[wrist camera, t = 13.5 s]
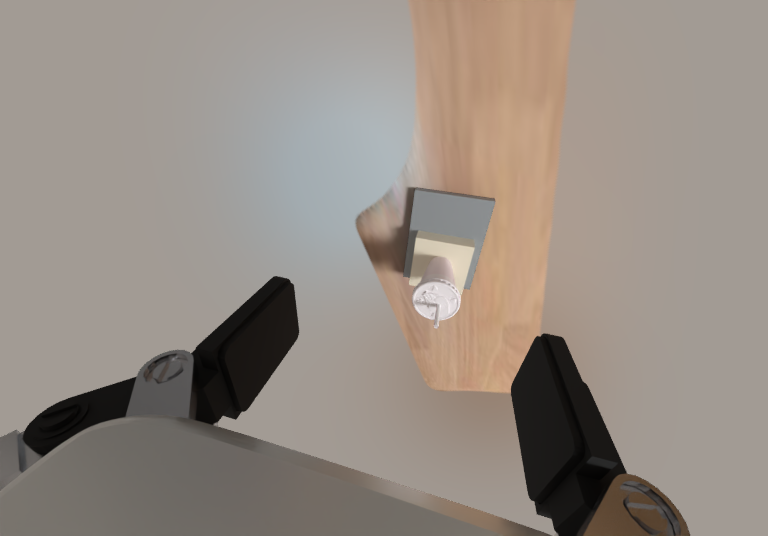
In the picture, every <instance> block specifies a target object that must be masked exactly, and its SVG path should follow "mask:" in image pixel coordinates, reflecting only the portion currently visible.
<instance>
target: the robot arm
mask: <svg viewBox="0 0 768 536" xmlns="http://www.w3.org/2000/svg"><path fill="white" fill-rule="evenodd" d="M298 335H299V326H298V317H297V309H296V300H295V291H294V285H293V284H292V283H291V282H290V280H289V279H287V278H282V277H277V276H275V277H273V278H272V279H270V280H269V281H268V282H267V283H266V284H265V285H264V286H263V287H262V288H261V289H259V290H258V291H257V292H256V293H255V294H254V295H253V296H252V297H251V298H250V299H249V300H247V301H246V302H245V303H244V304H243V305H242V306H241V307H240V308H239V309H237V310H236V311H235V312H234V313H233V314H232V315H231V316H230V317H229V318H228V319H227V320H225V321H224V322H223V323H222V324H221V325H220V326H219V327H218V328H217V329H216V330H214V331H213V332H212V333H211V334H210V335H209V336H208V337H207V338H206V339H205V340H203V341H202V342H201V343H200V344H199V345H198V346H197V347H196V349H195V350H194V351H193V352H192V353H190V352H187V351H185V350H173V351H168V352H165V353H162V354H160V355H158V356H156V357H154V358H153V359H151V360H150V361H148V362H147V363H146V364H145V365H144V366H143V367H142V368H141V369H140V371H139V373H138V375H137V377H134V378H131V379H128V380H125V381H122V382H118V383H115V384H112V385H109V386H106V387H103V388H100V389H96V390H93V391H90V392H87V393H84V394H81V395H77V396H74V397H71V398H68V399H66V400H63V401H60V402H58V403H56V404H55V405H53V406H51V407H49V408H47V409H46V410H45V411H43V412H42V413H40V414H39V415H38V416H37V417H36V418H35V419H34V420H33V421H32V422H31V423H30V424H29V425H28V426H27V428H26V430H25V431H23V432H21V433H20V432H19V431H17V430H15V431H13V432H11V433H9V434H7V435H5V436H3V437H0V536H551V535H549V534H546V533H544V532H541V531H538V530H535V529H532V528H529V527H526V526H524V525H520V524H518V523H515V522H512V521H509V520H506V519H503V518H501V517H497V516H494V515H492V514H489V513H486V512H483V511H480V510H477V509H474V508H471V507H468V506H465V505H462V504H459V503H456V502H453V501H450V500H447V499H444V498H440V497H437V496H434V495H431V494H428V493H425V492H422V491H419V490H416V489H413V488H410V487H407V486H404V485H400V484H397V483H394V482H391V481H388V480H385V479H382V478H379V477H376V476H373V475H369V474H366V473H364V472H360V471H357V470H354V469H351V468H348V467H345V466H342V465H339V464H336V463H332V462H329V461H326V460H323V459H320V458H317V457H314V456H311V455H307V454H304V453H301V452H298V451H295V450H291V449H288V448H285V447H282V446H279V445H276V444H273V443H269V442H266V441H263V440H260V439H257V438H254V437H251V436H247V435H244V434H241V433H238V432H234V431H231V430H227V429H224V428H221V427H218V421H219V420H220V419H221V417H222V416H226V417H229V418H232V419H237V418H238V416H239V415H240V413H241V412H242V411H243V412H244V411H246V410H247V409H248V408H249V407H250V405H251V404H252V402H253V401H254V399H255V398H256V397H257V395H258V394H259V392H260V391H261V390H262V388H263V387H264V385H265V384H266V383H267V381H268V380H269V378H270V377H271V375H272V374H273V372H274V371H275V370H276V368H277V367H278V365H279V364H280V363H281V361H282V360H283V358H284V357H285V356H286V354H287V353H288V351H289V350H290V348H291V347H292V345H293V344H294V343H295V341H296V340H297V338H298ZM511 396H512V402H513V408H514V414H515V420H516V425H517V432H518V437H519V443H520V449H521V455H522V461H523V466H524V472H525V479H526V485H527V491H528V495H529V498H530V499H531V500H532V501H535V506H536V512H537V514H538V515H541V516H544V517H547V518H551V519H552V521H553V526H554V530H555V531H556V532H557V533H556V534H555V536H690V533H689V530H688V527H687V524H686V522H685V520H684V519H683V517H682V515H681V513H680V512H679V510H678V509H677V508H676V506H675V505H674V504H673V503H672V502H671V500H670V499H669V498H668V497H667V496H666V495H665V494H663V493H662V492H661V491H660V490H659V489H658V488H656V487H655V486H654V485H652V484H651V483H649V482H648V481H646V480H644V479H642V478H640V477H638V476H636V475H631V474H627V473H626V470H625V468H624V466H623V463H622V461H621V459H620V457H619V454H618V452H617V450H616V448H615V446H614V443H613V441H612V439H611V437H610V434H609V432H608V430H607V428H606V425H605V423H604V421H603V419H602V416H601V414H600V412H599V410H598V407H597V405H596V403H595V401H594V399H593V396H592V394H591V392H590V390H589V388H588V386H587V384H586V383H584V382H583V381H582V379H581V377H580V374H579V372H578V370H577V367H576V365H575V363H574V361H573V358H572V356H571V354H570V351H569V349H568V347H567V345H566V342H565V340H564V339H563V338H562V337H559V336H554V335H550V334H542V335H541V337H539V336H537V337H536V338H535V339H534V341H533V343H532V345H531V347H530V349H529V351H528V353H527V355H526V357H525V359H524V361H523V363H522V365H521V367H520V369H519V371H518V373H517V375H516V377H515V379H514V381H513V383H512V386H511Z"/></svg>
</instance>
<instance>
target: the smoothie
mask: <svg viewBox="0 0 768 536" xmlns="http://www.w3.org/2000/svg"><path fill="white" fill-rule="evenodd" d="M460 300H461V298H460V293H459V291H458V289H457V288H456V284H455V279H454V274H453V269H452V264H451V262H450V261H449V260H448V259H447V258H445V257H435V258H433V259H432V260H431V261H430V263H429V265H428V267H427V269H426V271H425V273H424V275H423V277H422V279H421V281H420V283H418V285H417V286H416V287H415V288H414V291H413V296H412V303H413V306H414V308H415V309H416V311H417V312H418V313H419V314H420V315H422V316H423V317H425V318H428V319H431V320H435V321H434V328H438V327H439V320H445V319H448V318H450V317H452V316H453V315H455V314H456V312H457V311H458V309H459V307H460Z"/></svg>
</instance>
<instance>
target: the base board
mask: <svg viewBox="0 0 768 536" xmlns="http://www.w3.org/2000/svg"><path fill="white" fill-rule="evenodd" d="M494 205H495V199H493V198H486V197H479V196H472V195H465V194H458V193H451V192H444V191H437V190H430V189H423V188H416V189H415V193H414V201H413V208H412V215H411V223H410V230H409V237H408V245H407V252H406V259H405V267H404V274H403V277H408V278H410V281H409V285H413V286H417V285H418V283H420V281H421V279H422V277H423V275H424V273H425V271H426V269H427V267H428V265H429V263H430V261H431V260H432V259H433V258H435V257H445V258H447V259H448V260H449V261H450V262H451V264H452V269H453V274H454V279H455V284H456V288H457V289H458V291H459V293H460V295H462V292H463V288H464V289H469V290H470V286H471V283H472V279H473V276H474V273H475V269H476V266H477V263H478V259H479V256H480V252H481V249H482V246H483V242H484V239H485V235H486V232H487V229H488V225H489V222H490V218H491V215H492V212H493V208H494Z"/></svg>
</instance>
